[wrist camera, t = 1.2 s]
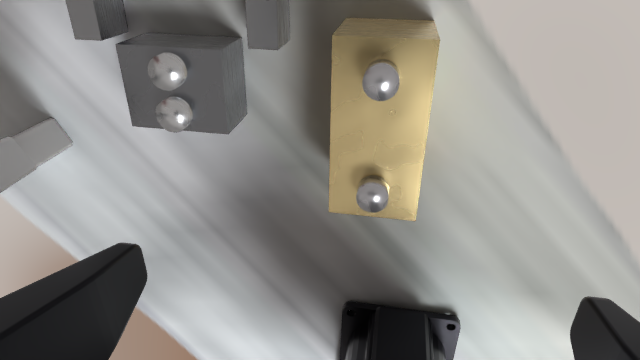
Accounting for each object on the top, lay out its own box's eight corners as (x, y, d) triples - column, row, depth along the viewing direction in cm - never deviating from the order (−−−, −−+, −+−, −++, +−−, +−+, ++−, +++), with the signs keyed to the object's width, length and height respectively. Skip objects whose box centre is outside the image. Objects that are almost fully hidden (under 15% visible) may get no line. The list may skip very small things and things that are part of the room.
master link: (414, 174, 21) (415, 232, 17) (341, 168, 21) (325, 222, 17) (433, 19, 17) (441, 44, 13) (346, 17, 18) (328, 40, 14)
